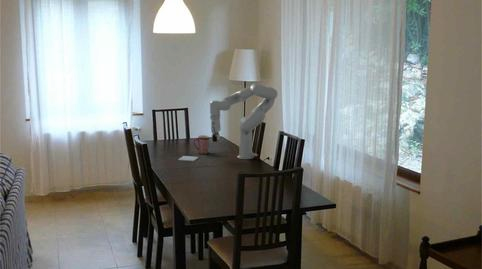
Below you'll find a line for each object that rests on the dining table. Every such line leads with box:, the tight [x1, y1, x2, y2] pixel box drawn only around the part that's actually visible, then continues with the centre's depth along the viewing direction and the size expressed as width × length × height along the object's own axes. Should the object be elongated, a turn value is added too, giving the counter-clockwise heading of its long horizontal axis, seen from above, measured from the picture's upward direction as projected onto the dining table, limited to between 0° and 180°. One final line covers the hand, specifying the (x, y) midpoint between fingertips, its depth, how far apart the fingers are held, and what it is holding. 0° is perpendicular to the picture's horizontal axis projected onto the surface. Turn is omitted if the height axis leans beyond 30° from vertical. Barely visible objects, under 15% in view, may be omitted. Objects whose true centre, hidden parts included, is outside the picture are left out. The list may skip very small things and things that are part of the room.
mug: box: [192, 135, 210, 155], centre depth 411 cm, size 13×9×14 cm
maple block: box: [211, 133, 221, 143], centre depth 393 cm, size 5×5×5 cm
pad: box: [177, 155, 199, 162], centre depth 391 cm, size 12×12×1 cm
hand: (215, 140), depth 393 cm, fingers closed on maple block, 5 cm apart
